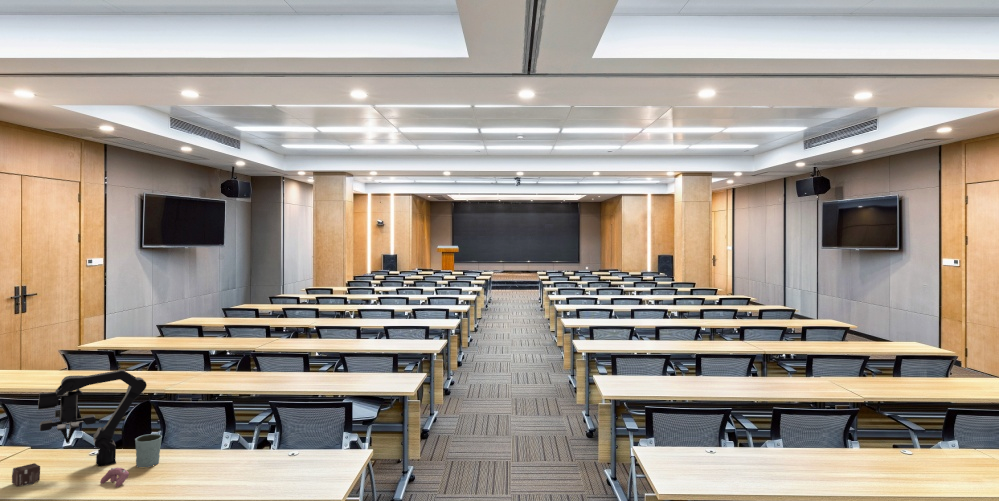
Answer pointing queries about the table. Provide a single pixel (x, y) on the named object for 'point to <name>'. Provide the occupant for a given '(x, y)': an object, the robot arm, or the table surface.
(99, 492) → the table surface
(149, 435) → the grey cup
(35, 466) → the box
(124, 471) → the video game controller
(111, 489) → the table surface
